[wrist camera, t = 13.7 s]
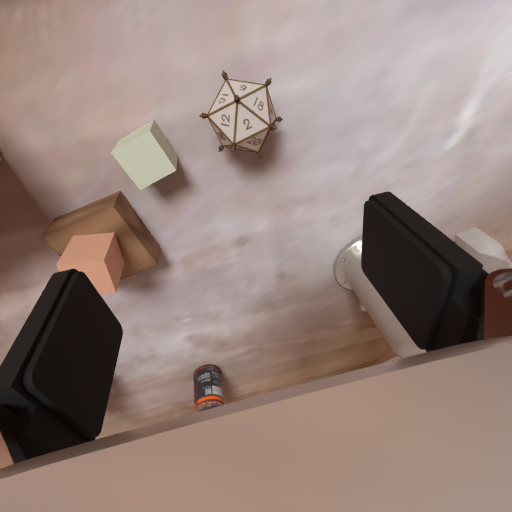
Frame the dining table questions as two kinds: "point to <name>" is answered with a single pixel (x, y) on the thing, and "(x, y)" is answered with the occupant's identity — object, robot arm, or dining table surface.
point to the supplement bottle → (207, 388)
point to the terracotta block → (95, 260)
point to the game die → (242, 115)
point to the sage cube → (145, 155)
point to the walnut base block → (108, 231)
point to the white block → (483, 249)
